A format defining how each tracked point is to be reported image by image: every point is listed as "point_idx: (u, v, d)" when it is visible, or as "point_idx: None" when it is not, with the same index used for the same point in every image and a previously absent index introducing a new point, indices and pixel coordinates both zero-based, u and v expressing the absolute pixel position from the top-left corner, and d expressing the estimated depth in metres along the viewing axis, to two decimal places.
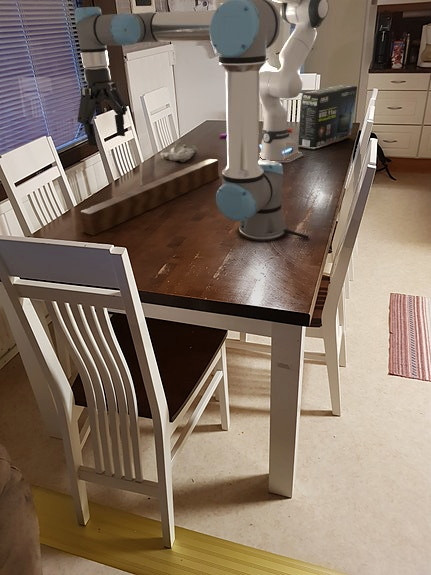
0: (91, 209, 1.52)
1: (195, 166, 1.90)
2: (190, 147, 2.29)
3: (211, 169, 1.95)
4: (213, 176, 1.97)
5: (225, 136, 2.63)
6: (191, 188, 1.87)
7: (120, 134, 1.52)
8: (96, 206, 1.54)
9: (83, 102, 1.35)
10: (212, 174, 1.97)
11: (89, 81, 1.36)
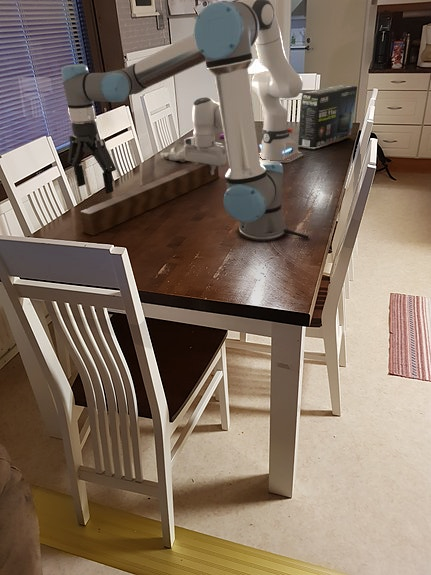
0: (91, 209, 1.52)
1: (195, 166, 1.90)
2: None
3: None
4: (213, 176, 1.97)
5: None
6: (191, 188, 1.87)
7: None
8: (96, 206, 1.54)
9: None
10: None
11: None
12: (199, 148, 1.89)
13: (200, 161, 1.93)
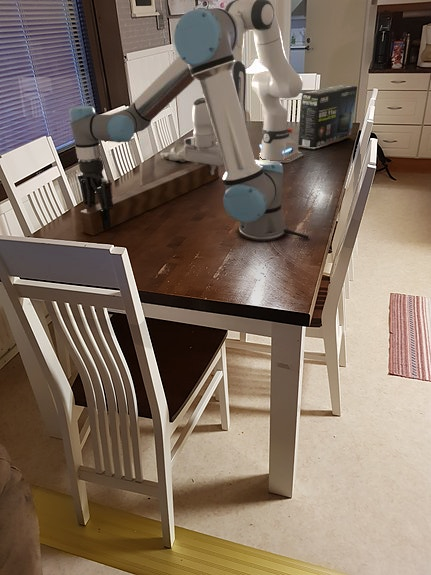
0: (91, 209, 1.52)
1: (195, 166, 1.90)
2: None
3: None
4: (213, 176, 1.97)
5: None
6: (191, 188, 1.87)
7: None
8: (96, 206, 1.54)
9: None
10: None
11: None
12: (199, 148, 1.89)
13: (199, 161, 1.93)
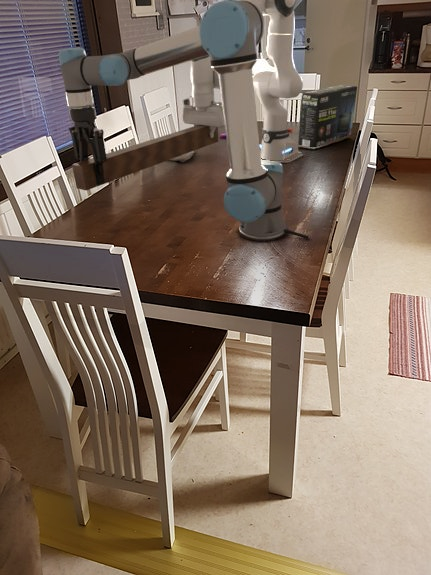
0: (83, 162, 1.44)
1: (193, 127, 1.82)
2: None
3: None
4: (212, 139, 1.89)
5: (225, 136, 2.63)
6: (190, 150, 1.79)
7: None
8: (89, 160, 1.46)
9: None
10: None
11: None
12: (198, 108, 1.80)
13: (198, 123, 1.85)
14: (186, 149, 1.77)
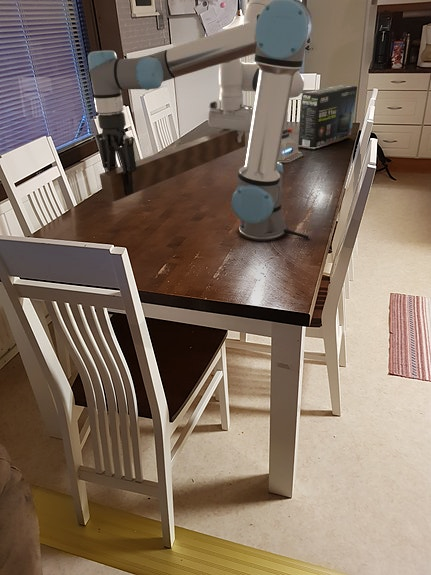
0: (111, 172, 1.35)
1: (220, 132, 1.73)
2: None
3: (237, 136, 1.78)
4: (240, 144, 1.81)
5: None
6: (217, 155, 1.71)
7: None
8: (117, 169, 1.37)
9: None
10: (239, 142, 1.80)
11: None
12: (225, 112, 1.72)
13: (225, 127, 1.76)
14: (214, 155, 1.69)
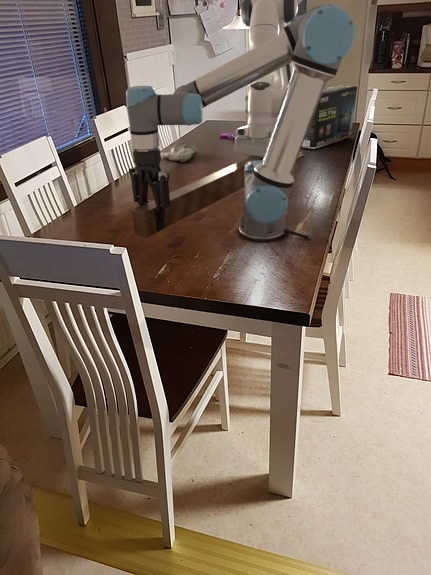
0: (144, 207, 1.31)
1: (248, 159, 1.69)
2: (190, 147, 2.29)
3: None
4: None
5: (225, 136, 2.63)
6: None
7: None
8: (149, 204, 1.33)
9: None
10: None
11: None
12: (254, 139, 1.68)
13: (253, 154, 1.72)
14: (242, 184, 1.65)
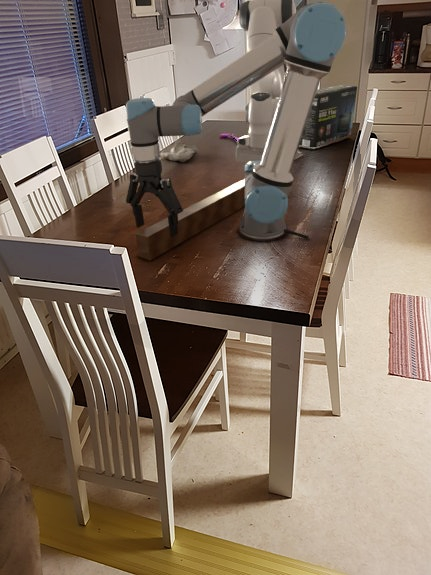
0: (147, 231, 1.35)
1: None
2: (190, 147, 2.29)
3: None
4: None
5: (225, 136, 2.63)
6: None
7: None
8: (152, 227, 1.37)
9: None
10: None
11: None
12: (255, 149, 1.70)
13: None
14: (242, 203, 1.69)
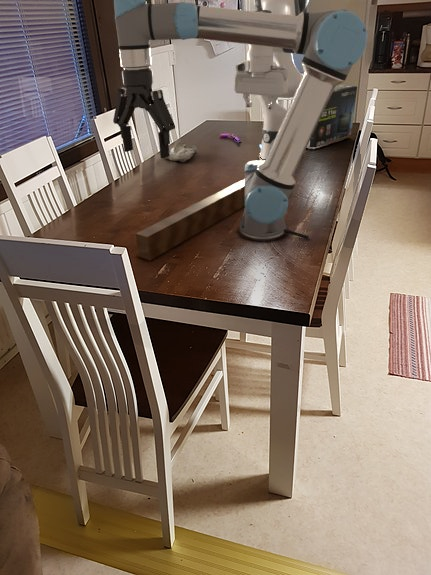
0: (147, 231, 1.35)
1: None
2: (190, 147, 2.29)
3: None
4: None
5: (225, 136, 2.63)
6: None
7: None
8: (152, 227, 1.37)
9: None
10: None
11: None
12: (254, 74, 1.57)
13: (253, 92, 1.61)
14: (242, 203, 1.69)
